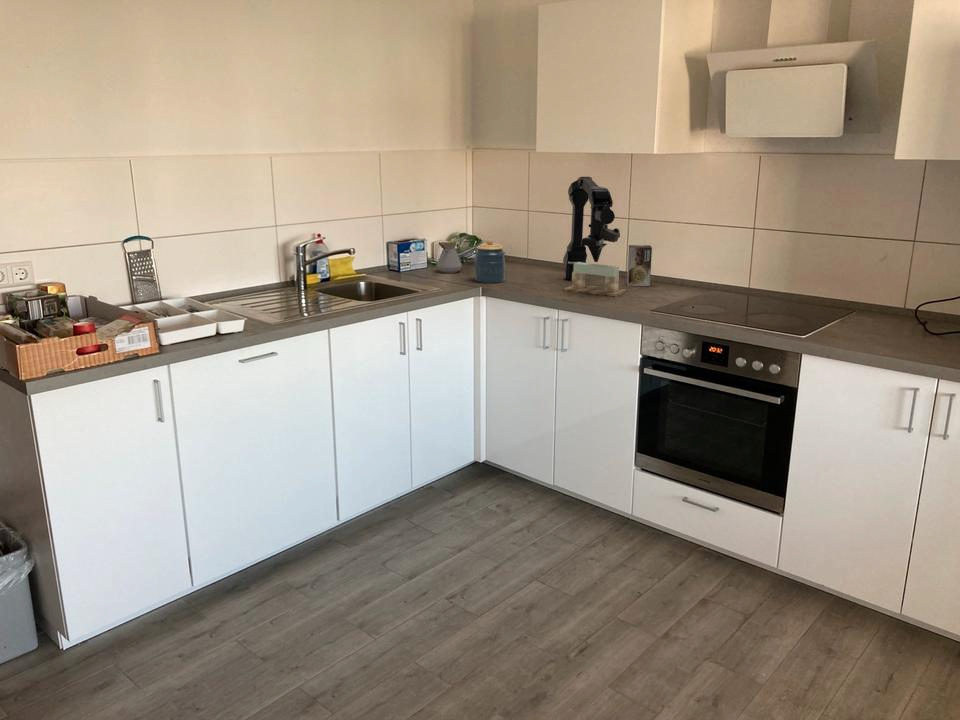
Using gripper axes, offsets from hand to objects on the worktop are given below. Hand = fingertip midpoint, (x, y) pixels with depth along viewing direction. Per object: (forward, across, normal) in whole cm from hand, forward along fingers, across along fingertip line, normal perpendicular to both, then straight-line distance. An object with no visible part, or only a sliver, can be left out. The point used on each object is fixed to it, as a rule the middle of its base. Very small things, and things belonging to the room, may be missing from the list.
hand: (596, 262), depth 300 cm
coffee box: (+12, +23, -10) cm, 28 cm away
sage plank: (+5, 0, 0) cm, 5 cm away
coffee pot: (+12, +4, +72) cm, 73 cm away
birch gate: (+12, 0, 0) cm, 12 cm away
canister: (+12, -1, +47) cm, 49 cm away
